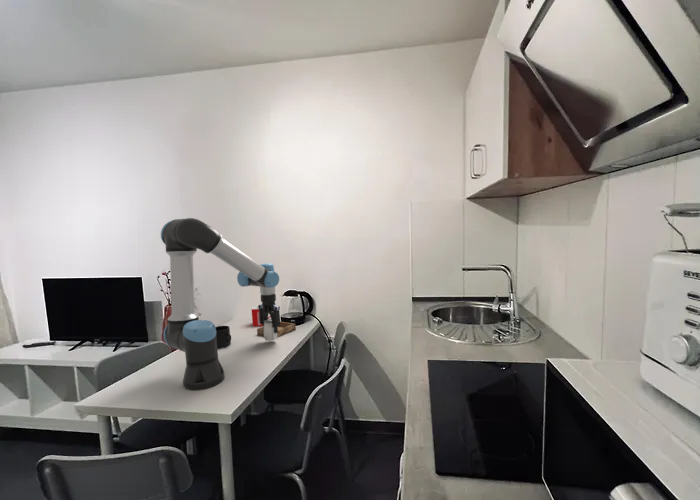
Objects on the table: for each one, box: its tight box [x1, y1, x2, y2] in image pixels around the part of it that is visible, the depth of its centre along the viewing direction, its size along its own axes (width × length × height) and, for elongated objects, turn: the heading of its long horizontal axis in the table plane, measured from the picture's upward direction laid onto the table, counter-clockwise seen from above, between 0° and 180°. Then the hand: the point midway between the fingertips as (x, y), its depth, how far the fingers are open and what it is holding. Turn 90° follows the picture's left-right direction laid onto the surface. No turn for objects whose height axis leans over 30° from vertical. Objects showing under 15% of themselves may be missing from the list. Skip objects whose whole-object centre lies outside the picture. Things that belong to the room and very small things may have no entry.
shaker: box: [264, 318, 274, 342], centre depth 181 cm, size 6×6×10 cm
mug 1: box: [215, 325, 232, 349], centre depth 180 cm, size 9×12×9 cm
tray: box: [256, 321, 297, 338], centre depth 198 cm, size 16×14×4 cm
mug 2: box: [250, 305, 271, 327], centre depth 215 cm, size 12×8×11 cm
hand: (270, 338), depth 181 cm, fingers closed on shaker, 6 cm apart
